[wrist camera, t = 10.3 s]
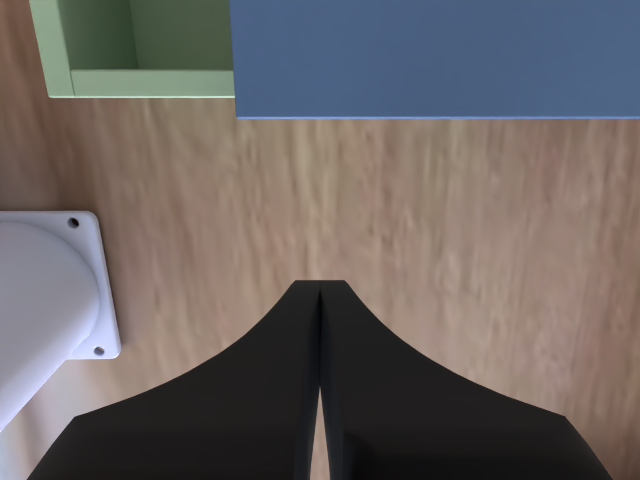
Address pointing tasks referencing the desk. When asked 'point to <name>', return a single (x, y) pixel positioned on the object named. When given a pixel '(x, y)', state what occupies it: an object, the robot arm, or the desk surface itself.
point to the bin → (135, 48)
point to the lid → (436, 59)
